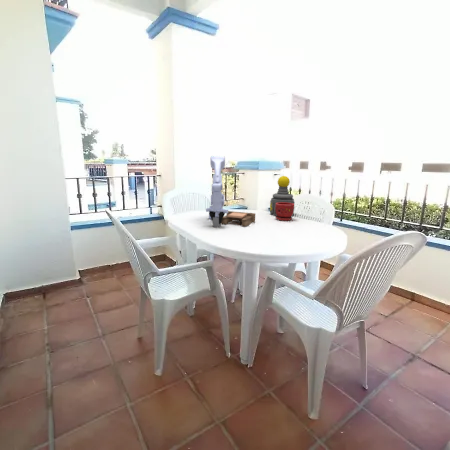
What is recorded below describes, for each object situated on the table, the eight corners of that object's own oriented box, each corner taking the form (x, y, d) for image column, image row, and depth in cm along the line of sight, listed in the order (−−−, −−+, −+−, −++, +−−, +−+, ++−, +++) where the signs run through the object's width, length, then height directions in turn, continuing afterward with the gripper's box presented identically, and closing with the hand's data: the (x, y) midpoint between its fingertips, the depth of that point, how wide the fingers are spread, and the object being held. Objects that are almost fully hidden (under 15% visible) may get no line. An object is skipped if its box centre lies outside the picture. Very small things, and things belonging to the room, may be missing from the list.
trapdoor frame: (219, 224, 182) (219, 215, 180) (228, 219, 196) (228, 211, 195) (248, 227, 175) (248, 217, 173) (255, 221, 189) (255, 213, 188)
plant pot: (295, 221, 192) (296, 204, 189) (276, 221, 192) (277, 204, 189) (291, 217, 204) (292, 201, 202) (273, 217, 205) (274, 201, 202)
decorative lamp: (275, 217, 205) (278, 176, 198) (265, 212, 223) (267, 175, 216) (298, 216, 210) (301, 176, 203) (286, 211, 228) (289, 175, 220)
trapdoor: (227, 216, 181) (227, 215, 181) (233, 214, 190) (233, 212, 190) (242, 218, 178) (242, 216, 177) (246, 215, 187) (246, 213, 186)
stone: (212, 226, 175) (212, 217, 173) (215, 225, 178) (215, 216, 177) (218, 227, 173) (218, 218, 172) (221, 226, 177) (221, 216, 175)
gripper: (203, 202, 171) (203, 223, 174) (225, 204, 166) (225, 225, 169) (208, 200, 177) (208, 221, 181) (229, 202, 172) (229, 223, 175)
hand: (216, 223), depth 175 cm, fingers closed on stone, 4 cm apart
